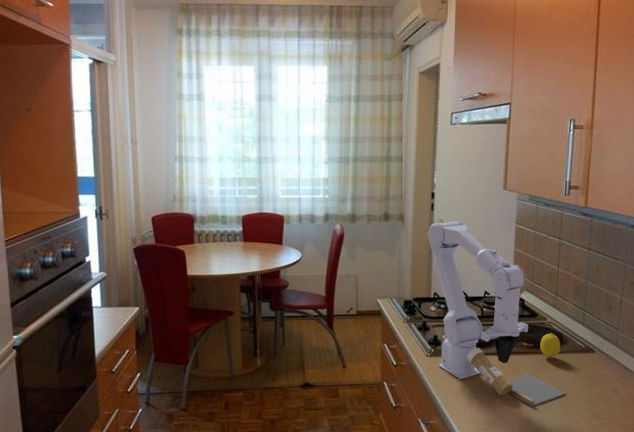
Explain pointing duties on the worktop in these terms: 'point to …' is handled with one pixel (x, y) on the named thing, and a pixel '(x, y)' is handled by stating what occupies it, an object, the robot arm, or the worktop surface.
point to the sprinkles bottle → (489, 371)
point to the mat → (533, 390)
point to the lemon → (550, 345)
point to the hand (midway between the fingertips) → (502, 361)
